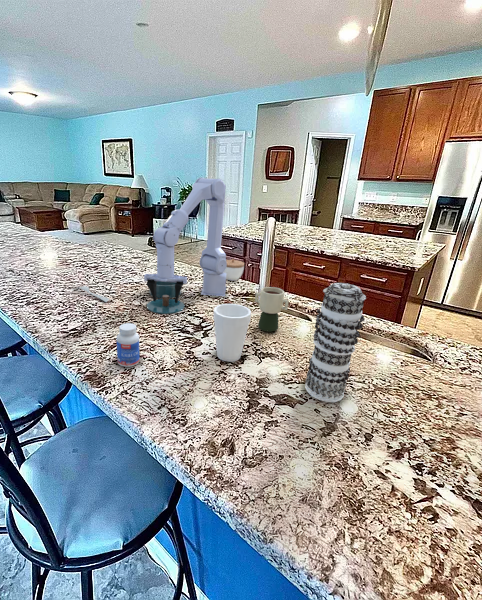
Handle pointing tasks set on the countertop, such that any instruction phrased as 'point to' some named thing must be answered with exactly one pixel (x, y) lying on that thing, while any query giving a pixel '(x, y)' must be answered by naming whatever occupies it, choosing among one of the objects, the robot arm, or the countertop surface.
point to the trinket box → (234, 269)
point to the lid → (165, 305)
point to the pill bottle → (127, 345)
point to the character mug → (270, 307)
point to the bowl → (165, 289)
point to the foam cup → (230, 330)
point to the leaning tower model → (334, 341)
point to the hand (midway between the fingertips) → (165, 301)
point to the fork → (94, 294)
